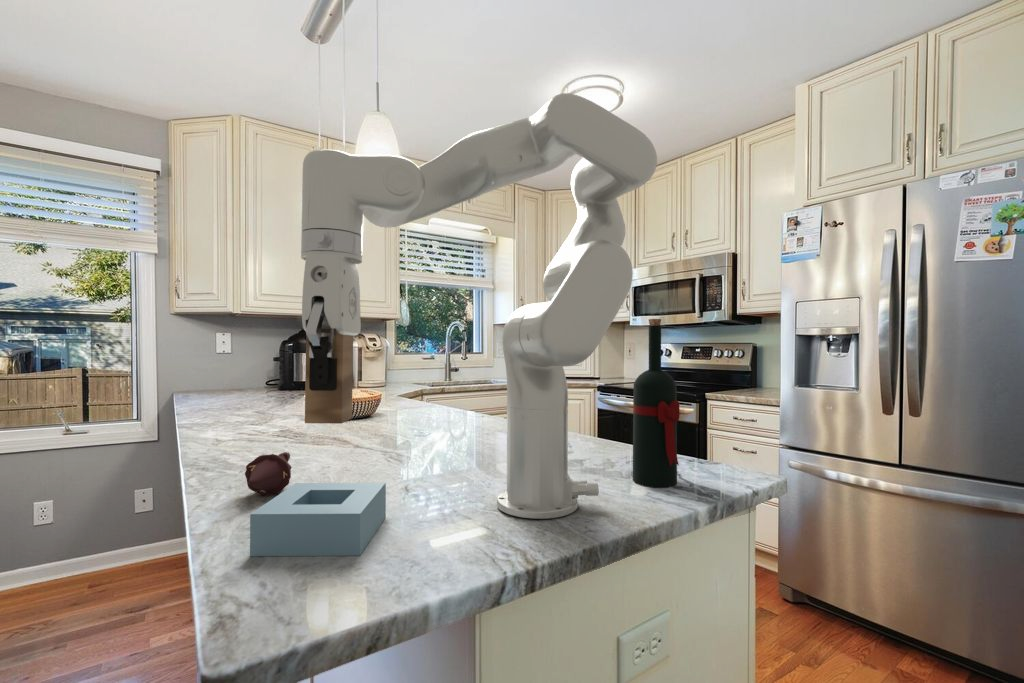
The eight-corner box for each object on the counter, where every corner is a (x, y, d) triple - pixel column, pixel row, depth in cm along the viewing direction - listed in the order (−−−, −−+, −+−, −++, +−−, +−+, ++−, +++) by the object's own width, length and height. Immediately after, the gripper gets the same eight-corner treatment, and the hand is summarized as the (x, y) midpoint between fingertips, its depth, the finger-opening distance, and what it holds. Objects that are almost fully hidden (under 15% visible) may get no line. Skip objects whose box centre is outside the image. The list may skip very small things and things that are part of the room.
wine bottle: (654, 493, 83) (654, 316, 83) (624, 477, 93) (625, 319, 93) (694, 489, 85) (694, 317, 85) (661, 474, 95) (661, 320, 95)
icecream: (281, 466, 76) (310, 453, 91) (233, 455, 75) (269, 443, 90) (268, 511, 75) (298, 490, 90) (218, 500, 74) (258, 481, 89)
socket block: (385, 517, 71) (385, 482, 71) (360, 555, 58) (360, 513, 58) (295, 517, 71) (295, 483, 71) (249, 556, 58) (250, 514, 58)
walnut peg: (351, 418, 66) (353, 329, 67) (341, 423, 62) (343, 328, 62) (317, 417, 66) (319, 329, 66) (304, 423, 62) (306, 328, 62)
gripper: (341, 235, 56) (339, 395, 56) (376, 261, 73) (374, 383, 73) (274, 234, 56) (272, 394, 55) (324, 260, 73) (322, 383, 72)
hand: (329, 387), depth 64 cm, fingers closed on walnut peg, 4 cm apart
